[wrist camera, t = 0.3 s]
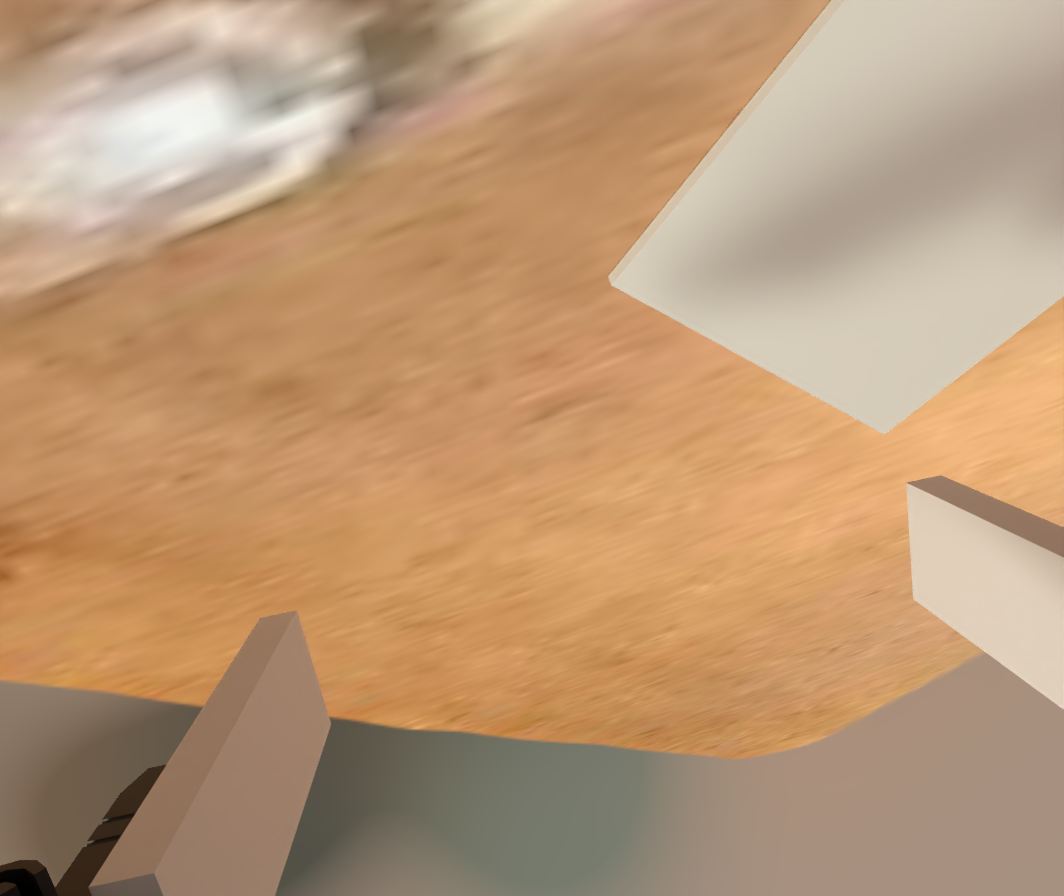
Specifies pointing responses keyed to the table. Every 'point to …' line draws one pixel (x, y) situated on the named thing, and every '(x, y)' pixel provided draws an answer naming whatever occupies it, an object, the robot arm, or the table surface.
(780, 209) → the grey rubber mat
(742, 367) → the table surface
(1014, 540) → the robot arm
